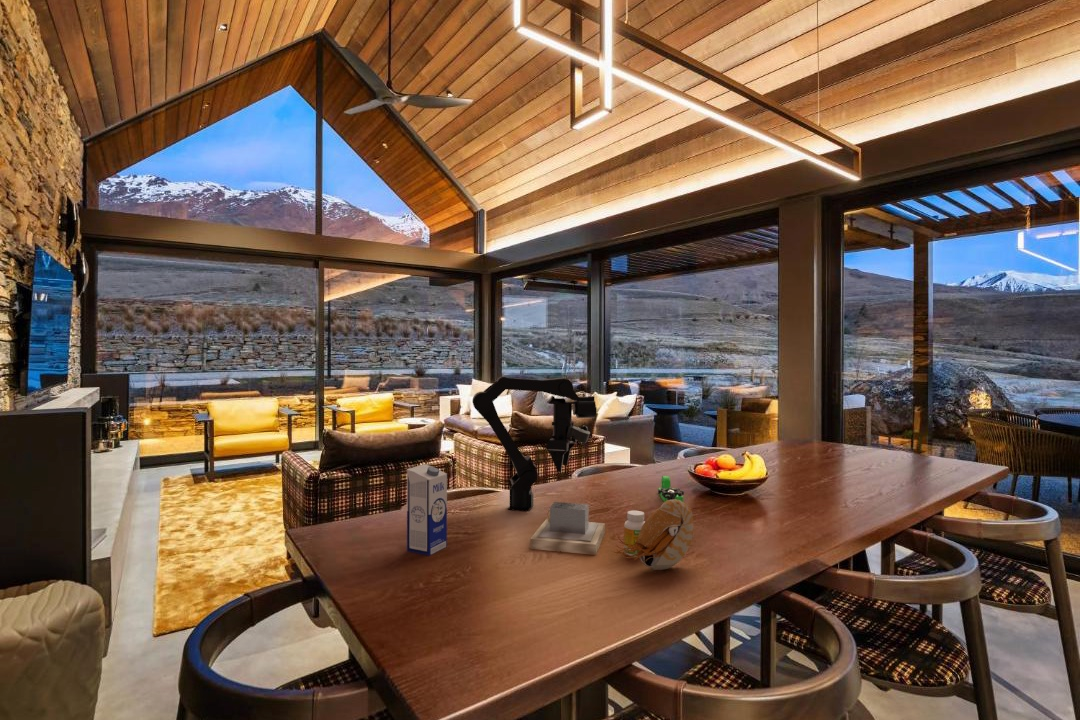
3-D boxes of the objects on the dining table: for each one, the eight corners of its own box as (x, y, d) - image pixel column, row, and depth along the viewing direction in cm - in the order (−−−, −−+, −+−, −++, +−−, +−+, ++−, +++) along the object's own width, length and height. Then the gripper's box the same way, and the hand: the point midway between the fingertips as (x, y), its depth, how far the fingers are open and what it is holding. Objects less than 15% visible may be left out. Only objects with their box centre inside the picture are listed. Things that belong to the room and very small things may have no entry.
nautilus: (604, 574, 116) (604, 504, 116) (679, 557, 127) (679, 492, 127) (628, 588, 109) (628, 514, 109) (705, 568, 120) (705, 500, 120)
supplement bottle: (633, 559, 125) (633, 517, 125) (619, 551, 130) (619, 511, 130) (651, 555, 128) (652, 514, 128) (637, 548, 132) (637, 508, 132)
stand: (530, 549, 131) (530, 537, 131) (546, 527, 148) (546, 517, 148) (595, 555, 128) (595, 543, 128) (604, 532, 144) (604, 522, 144)
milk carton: (425, 543, 136) (425, 463, 135) (447, 547, 133) (447, 465, 133) (406, 552, 129) (406, 468, 129) (429, 556, 126) (429, 471, 126)
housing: (585, 534, 134) (585, 510, 134) (546, 531, 136) (546, 507, 136) (588, 527, 139) (588, 504, 139) (551, 524, 142) (551, 501, 142)
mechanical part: (683, 503, 174) (683, 478, 174) (664, 502, 175) (664, 478, 175) (675, 493, 186) (675, 470, 186) (658, 493, 187) (658, 470, 187)
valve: (689, 537, 141) (689, 490, 141) (672, 542, 137) (672, 494, 137) (669, 530, 146) (669, 486, 146) (652, 535, 142) (652, 489, 142)
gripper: (583, 422, 158) (583, 476, 158) (592, 415, 176) (592, 464, 176) (545, 421, 160) (545, 474, 160) (558, 415, 178) (558, 462, 178)
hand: (562, 468), depth 169 cm, fingers open, 9 cm apart
